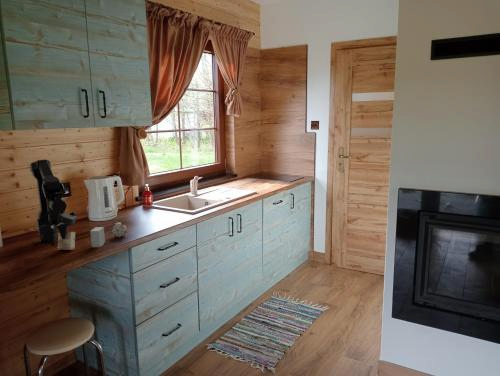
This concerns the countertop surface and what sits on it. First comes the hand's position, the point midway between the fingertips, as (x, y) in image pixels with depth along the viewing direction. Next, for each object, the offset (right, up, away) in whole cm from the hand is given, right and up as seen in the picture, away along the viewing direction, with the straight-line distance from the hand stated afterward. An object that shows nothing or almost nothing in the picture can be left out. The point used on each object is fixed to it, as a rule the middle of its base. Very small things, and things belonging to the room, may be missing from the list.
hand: (58, 242), depth 184 cm
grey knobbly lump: (+19, -1, +26) cm, 32 cm away
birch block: (0, -4, +7) cm, 8 cm away
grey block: (+13, -3, +14) cm, 19 cm away
